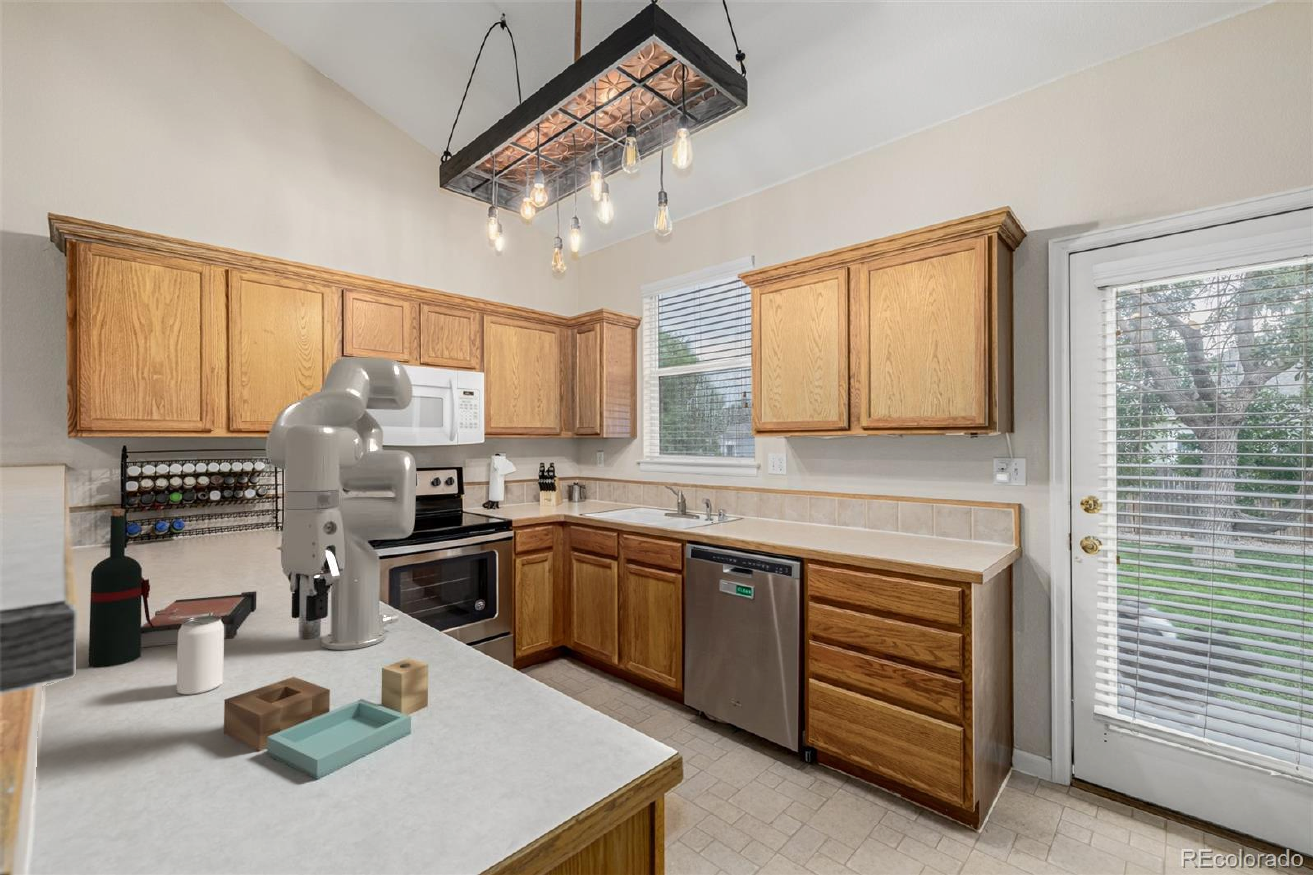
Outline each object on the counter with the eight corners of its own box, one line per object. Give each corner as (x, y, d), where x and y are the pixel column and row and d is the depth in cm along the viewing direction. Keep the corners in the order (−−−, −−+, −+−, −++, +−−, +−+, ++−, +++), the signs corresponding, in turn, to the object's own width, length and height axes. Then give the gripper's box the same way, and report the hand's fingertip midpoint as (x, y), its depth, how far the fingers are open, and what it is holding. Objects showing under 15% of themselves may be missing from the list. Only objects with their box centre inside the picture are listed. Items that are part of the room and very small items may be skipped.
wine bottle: (162, 654, 119) (165, 508, 119) (95, 670, 110) (99, 512, 111) (146, 647, 123) (149, 505, 123) (81, 662, 114) (84, 510, 115)
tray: (361, 714, 93) (361, 699, 93) (410, 733, 87) (410, 716, 87) (267, 754, 81) (267, 736, 81) (317, 779, 75) (317, 760, 75)
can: (197, 697, 99) (198, 626, 99) (166, 694, 100) (168, 624, 100) (232, 682, 105) (233, 616, 105) (202, 679, 106) (204, 613, 107)
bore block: (293, 707, 95) (293, 676, 95) (329, 721, 90) (329, 689, 90) (223, 733, 87) (224, 699, 87) (259, 751, 82) (260, 715, 82)
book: (172, 618, 145) (173, 598, 145) (256, 610, 153) (256, 591, 153) (132, 652, 121) (132, 628, 122) (233, 640, 129) (233, 618, 129)
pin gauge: (313, 633, 94) (314, 571, 95) (324, 635, 93) (325, 572, 93) (294, 638, 92) (295, 574, 92) (305, 641, 90) (307, 576, 90)
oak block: (407, 699, 99) (408, 657, 99) (427, 706, 96) (428, 663, 96) (381, 711, 94) (381, 667, 94) (401, 718, 92) (401, 673, 92)
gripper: (366, 502, 92) (364, 618, 92) (304, 498, 100) (302, 606, 99) (320, 505, 86) (318, 631, 85) (258, 501, 93) (255, 616, 93)
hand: (309, 616), depth 92 cm, fingers closed on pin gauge, 3 cm apart
